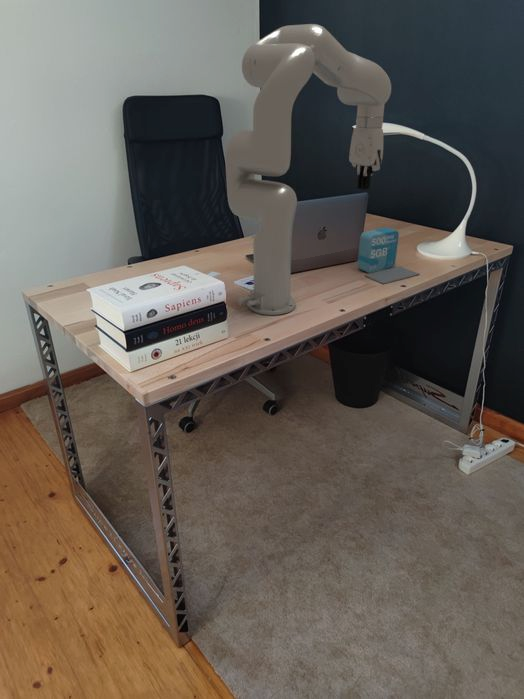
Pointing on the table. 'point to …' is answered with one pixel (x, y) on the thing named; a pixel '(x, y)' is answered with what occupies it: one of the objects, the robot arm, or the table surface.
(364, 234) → the data package
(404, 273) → the mat
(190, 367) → the table surface
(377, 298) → the table surface
